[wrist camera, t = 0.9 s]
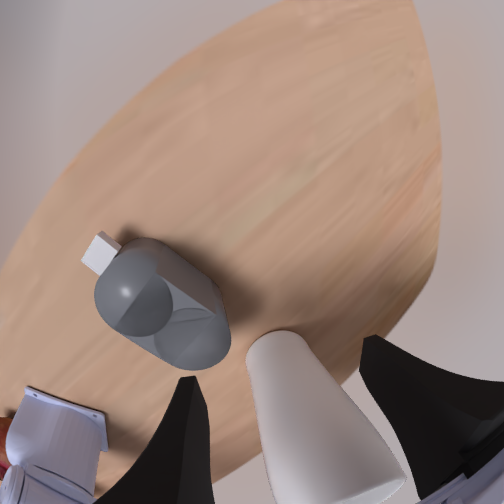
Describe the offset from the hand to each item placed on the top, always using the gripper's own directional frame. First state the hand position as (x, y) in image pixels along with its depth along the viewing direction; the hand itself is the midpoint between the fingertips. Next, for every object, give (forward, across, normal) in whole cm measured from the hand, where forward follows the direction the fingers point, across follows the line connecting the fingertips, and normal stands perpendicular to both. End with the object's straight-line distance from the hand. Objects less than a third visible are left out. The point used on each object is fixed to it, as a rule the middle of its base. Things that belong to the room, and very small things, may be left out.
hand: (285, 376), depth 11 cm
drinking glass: (+10, -1, +7) cm, 12 cm away
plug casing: (+10, +6, -1) cm, 11 cm away
